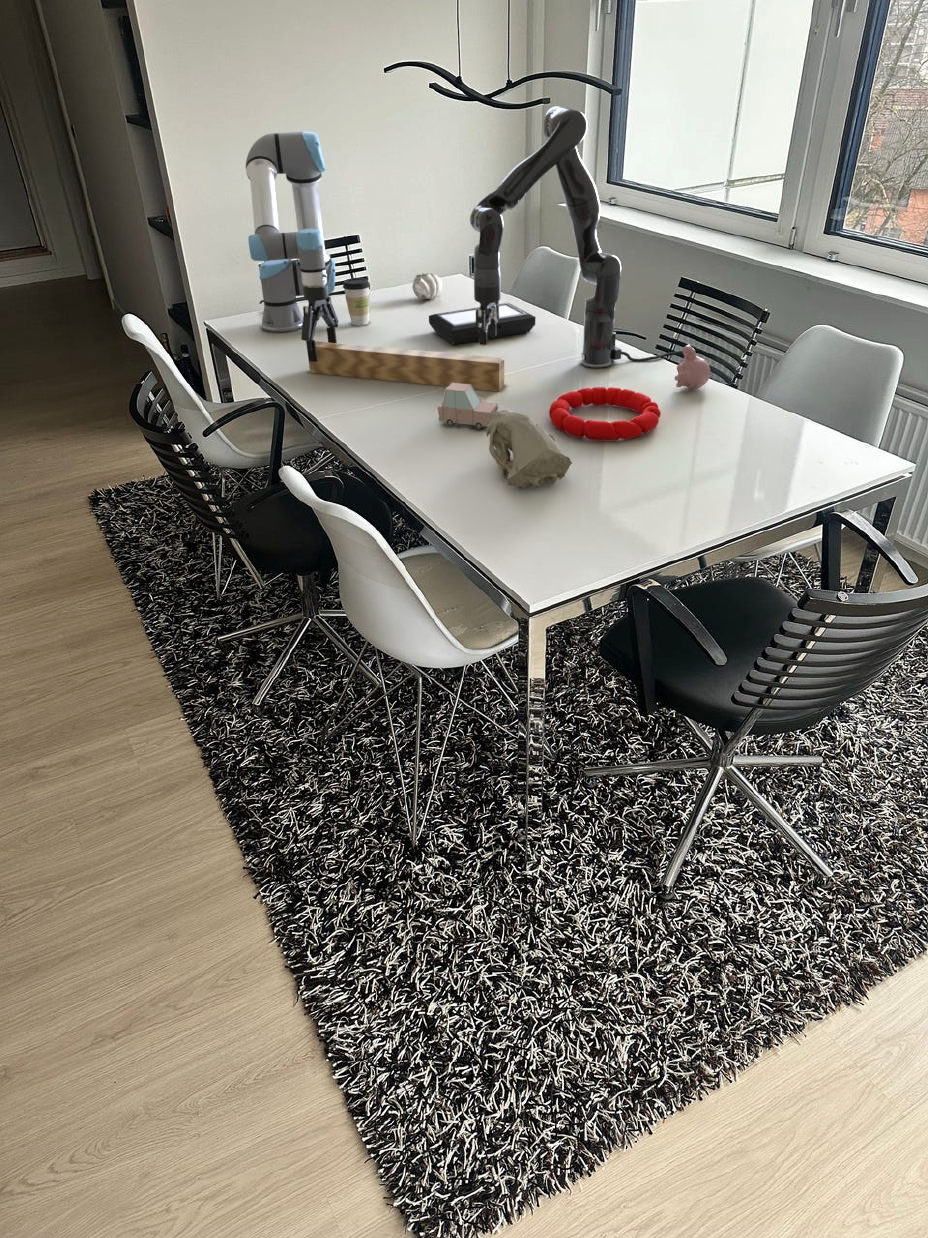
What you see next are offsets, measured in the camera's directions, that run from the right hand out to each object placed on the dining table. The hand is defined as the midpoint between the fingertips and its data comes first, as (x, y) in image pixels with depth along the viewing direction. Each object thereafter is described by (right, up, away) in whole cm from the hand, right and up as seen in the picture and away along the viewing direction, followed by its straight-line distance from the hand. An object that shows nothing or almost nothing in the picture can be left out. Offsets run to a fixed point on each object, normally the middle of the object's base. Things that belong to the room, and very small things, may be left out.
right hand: (488, 340), depth 261 cm
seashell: (-21, +45, +91) cm, 103 cm away
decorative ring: (+31, -28, -17) cm, 45 cm away
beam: (-26, -7, +16) cm, 31 cm away
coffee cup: (-45, +27, +67) cm, 85 cm away
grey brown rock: (+7, -45, -40) cm, 61 cm away
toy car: (-6, -28, -15) cm, 32 cm away
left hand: (-52, +2, +21) cm, 56 cm away
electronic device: (-1, +19, +53) cm, 57 cm away
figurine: (+60, -14, +2) cm, 61 cm away
